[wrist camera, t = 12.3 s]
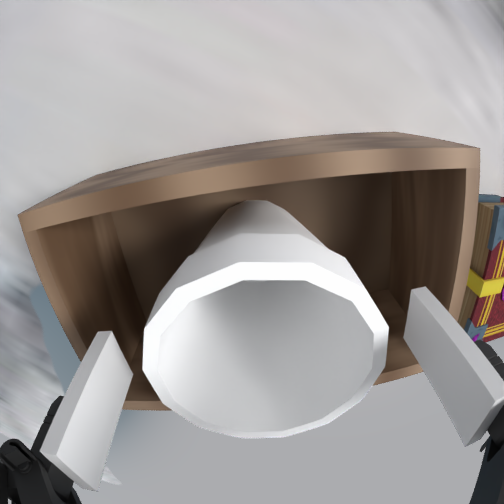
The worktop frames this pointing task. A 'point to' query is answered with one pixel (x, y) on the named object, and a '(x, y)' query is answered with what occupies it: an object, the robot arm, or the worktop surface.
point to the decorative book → (486, 274)
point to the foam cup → (263, 330)
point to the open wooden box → (265, 189)
